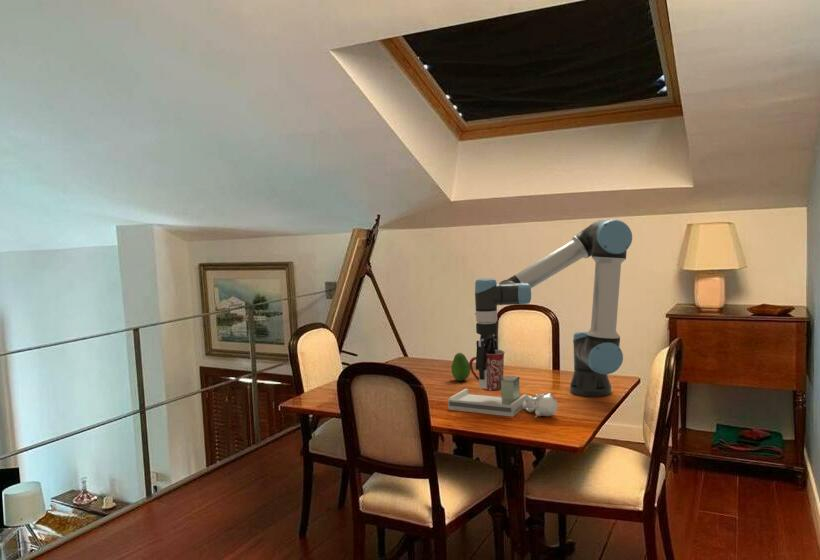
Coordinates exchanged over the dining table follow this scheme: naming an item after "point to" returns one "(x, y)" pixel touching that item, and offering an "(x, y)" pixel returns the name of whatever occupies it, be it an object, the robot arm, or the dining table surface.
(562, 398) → the dining table surface
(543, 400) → the figurine
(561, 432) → the dining table surface
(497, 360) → the mug
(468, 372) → the avocado
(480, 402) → the shelf
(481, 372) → the robot arm
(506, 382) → the tea tin
